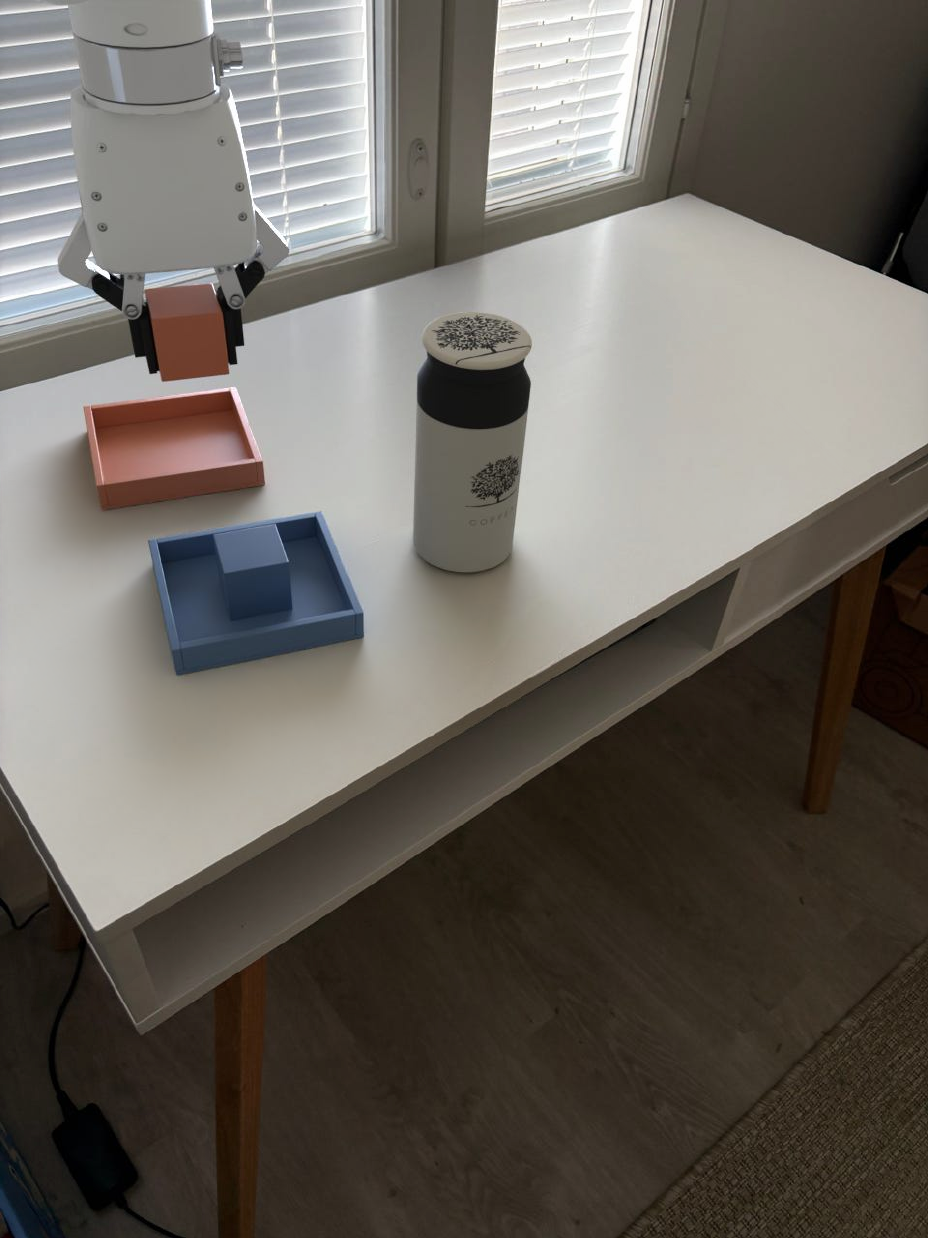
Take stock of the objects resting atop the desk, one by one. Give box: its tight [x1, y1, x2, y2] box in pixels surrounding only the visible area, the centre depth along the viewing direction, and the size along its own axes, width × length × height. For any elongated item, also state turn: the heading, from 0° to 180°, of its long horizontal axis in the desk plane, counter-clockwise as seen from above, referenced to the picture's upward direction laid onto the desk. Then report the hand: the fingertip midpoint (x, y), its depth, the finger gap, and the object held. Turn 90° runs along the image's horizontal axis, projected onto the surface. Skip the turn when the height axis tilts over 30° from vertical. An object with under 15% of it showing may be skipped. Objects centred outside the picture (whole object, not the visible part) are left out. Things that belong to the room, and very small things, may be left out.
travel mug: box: [412, 311, 533, 573], centre depth 74 cm, size 8×8×18 cm
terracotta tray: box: [83, 386, 266, 511], centre depth 86 cm, size 13×12×2 cm
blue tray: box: [147, 510, 365, 676], centre depth 74 cm, size 13×12×2 cm
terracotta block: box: [144, 282, 230, 383], centre depth 68 cm, size 4×4×4 cm
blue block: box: [213, 524, 293, 621], centre depth 73 cm, size 4×4×4 cm
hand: (190, 357), depth 69 cm, fingers closed on terracotta block, 4 cm apart
